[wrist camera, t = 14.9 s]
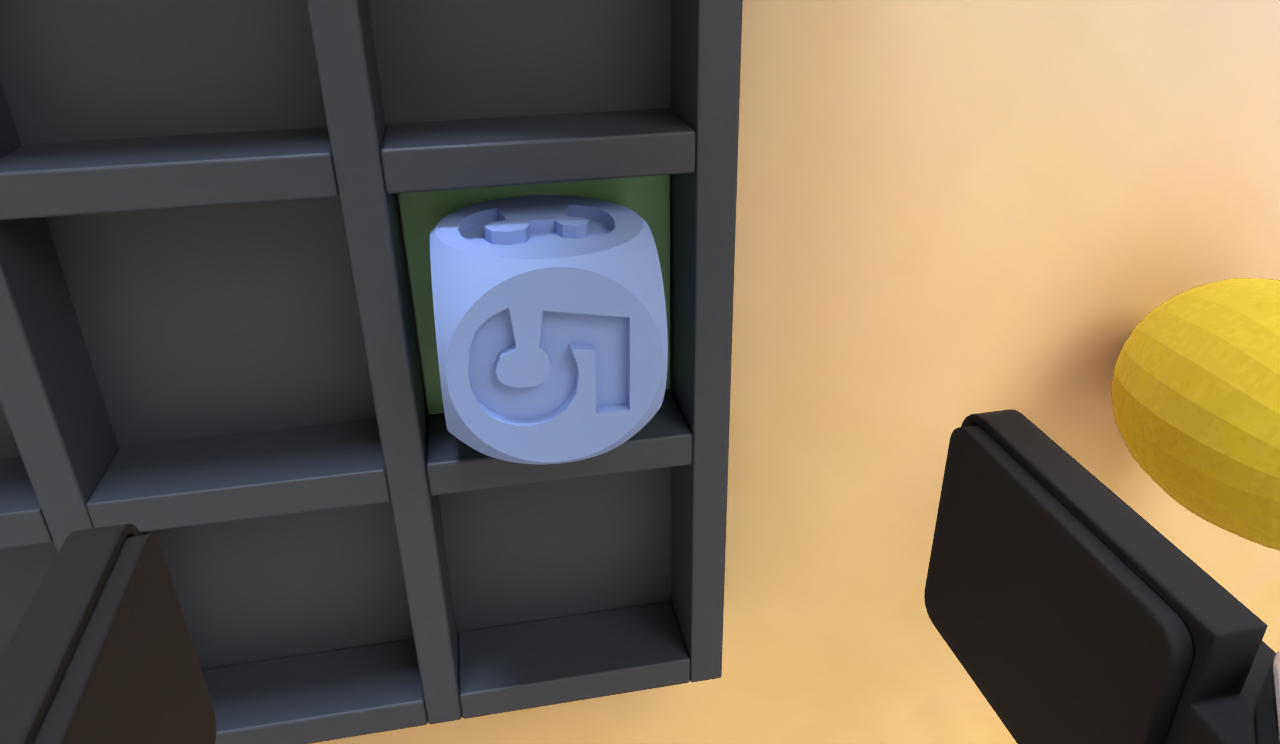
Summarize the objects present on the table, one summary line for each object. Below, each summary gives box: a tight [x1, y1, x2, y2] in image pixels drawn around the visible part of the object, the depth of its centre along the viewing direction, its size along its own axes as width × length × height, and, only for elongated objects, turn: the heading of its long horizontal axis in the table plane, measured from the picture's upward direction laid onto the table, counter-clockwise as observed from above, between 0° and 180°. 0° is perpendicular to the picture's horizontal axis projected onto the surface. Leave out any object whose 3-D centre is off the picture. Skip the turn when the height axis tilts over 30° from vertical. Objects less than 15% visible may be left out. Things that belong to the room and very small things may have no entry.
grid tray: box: [0, 0, 743, 744], centre depth 18 cm, size 20×20×3 cm
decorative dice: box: [430, 195, 668, 464], centre depth 18 cm, size 4×4×4 cm
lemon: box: [1112, 278, 1280, 550], centre depth 21 cm, size 6×6×8 cm
